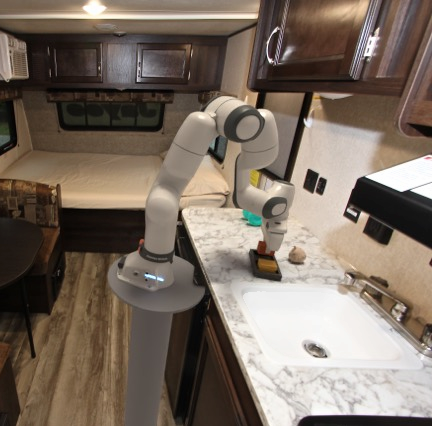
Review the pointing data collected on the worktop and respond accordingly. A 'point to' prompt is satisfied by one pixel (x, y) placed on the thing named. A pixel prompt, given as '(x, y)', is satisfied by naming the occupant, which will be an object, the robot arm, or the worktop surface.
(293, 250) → the garlic bulb
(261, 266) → the yellow-orange rectangular block
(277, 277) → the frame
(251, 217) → the turquoise spool
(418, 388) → the worktop surface
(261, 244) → the orange-red rectangular block
